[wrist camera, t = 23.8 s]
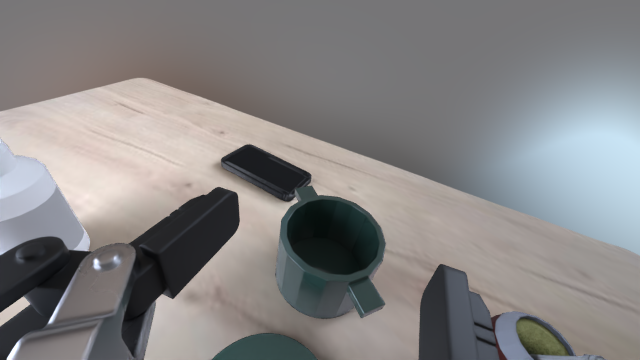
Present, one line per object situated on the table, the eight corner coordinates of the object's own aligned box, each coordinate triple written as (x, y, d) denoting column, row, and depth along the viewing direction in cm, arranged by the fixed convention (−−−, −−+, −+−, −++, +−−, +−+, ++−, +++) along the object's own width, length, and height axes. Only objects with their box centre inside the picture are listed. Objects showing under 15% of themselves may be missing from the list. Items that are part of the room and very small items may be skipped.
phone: (289, 198, 40) (218, 159, 45) (288, 203, 41) (218, 164, 45) (314, 174, 46) (249, 142, 50) (313, 179, 47) (249, 147, 51)
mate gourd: (493, 331, 31) (600, 258, 21) (551, 419, 25) (733, 372, 15) (441, 341, 29) (533, 266, 19) (490, 440, 23) (657, 400, 13)
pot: (330, 215, 41) (341, 176, 36) (395, 319, 30) (424, 284, 25) (259, 232, 36) (260, 189, 31) (304, 364, 25) (318, 331, 20)
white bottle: (-9, 290, 25) (-215, 123, 14) (26, 234, 30) (-106, 78, 19) (79, 276, 27) (-36, 124, 16) (99, 227, 32) (20, 84, 21)
